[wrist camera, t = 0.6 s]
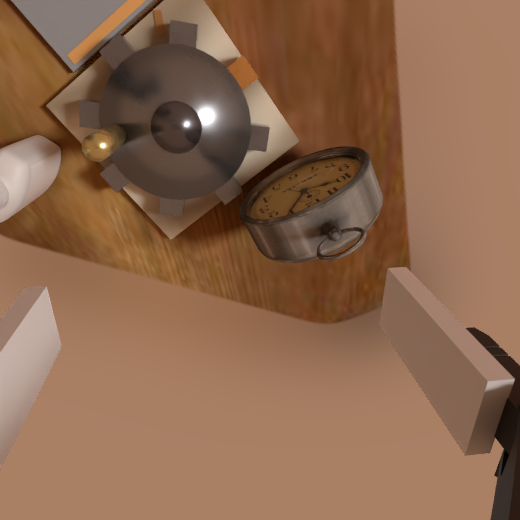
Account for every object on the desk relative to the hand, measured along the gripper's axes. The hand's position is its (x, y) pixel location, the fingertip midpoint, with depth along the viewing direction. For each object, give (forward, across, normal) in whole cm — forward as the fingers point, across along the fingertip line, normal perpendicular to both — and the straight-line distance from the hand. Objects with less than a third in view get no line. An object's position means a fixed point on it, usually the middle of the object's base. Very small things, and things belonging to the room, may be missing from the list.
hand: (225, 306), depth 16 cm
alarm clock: (+24, +8, -2) cm, 26 cm away
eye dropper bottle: (+25, -15, 0) cm, 29 cm away
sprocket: (+23, -3, +4) cm, 24 cm away
